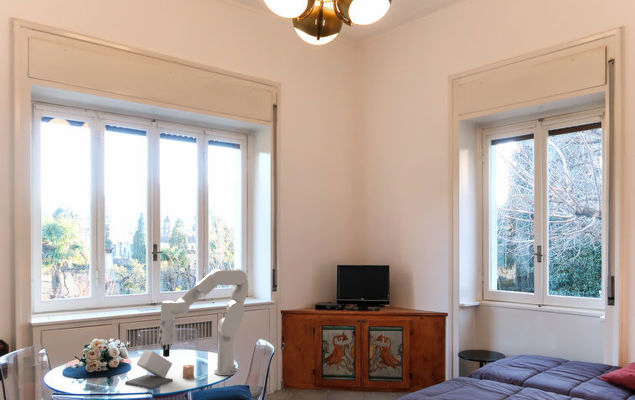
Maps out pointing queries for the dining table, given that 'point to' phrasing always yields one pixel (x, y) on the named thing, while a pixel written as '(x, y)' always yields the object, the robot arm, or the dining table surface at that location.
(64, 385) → the dining table surface
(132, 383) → the board
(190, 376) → the tan small cube
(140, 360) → the supplement box
